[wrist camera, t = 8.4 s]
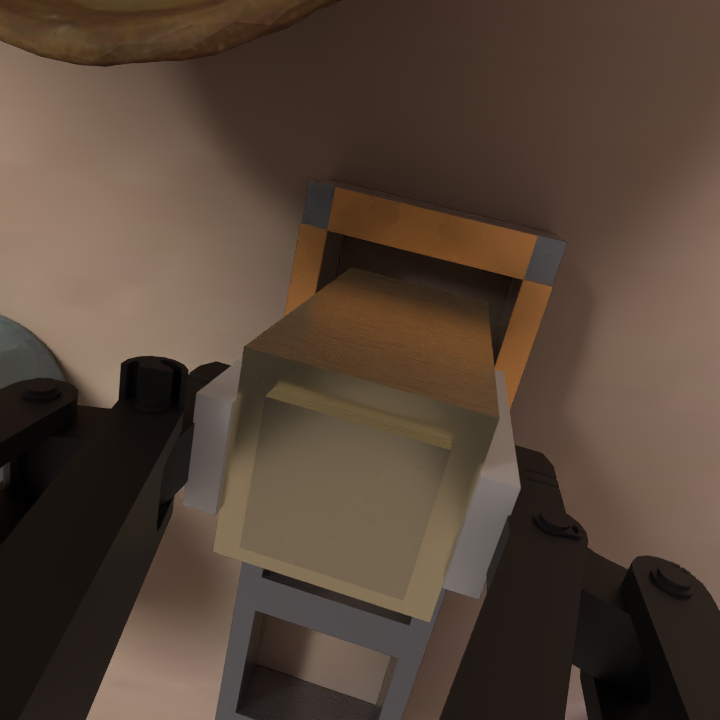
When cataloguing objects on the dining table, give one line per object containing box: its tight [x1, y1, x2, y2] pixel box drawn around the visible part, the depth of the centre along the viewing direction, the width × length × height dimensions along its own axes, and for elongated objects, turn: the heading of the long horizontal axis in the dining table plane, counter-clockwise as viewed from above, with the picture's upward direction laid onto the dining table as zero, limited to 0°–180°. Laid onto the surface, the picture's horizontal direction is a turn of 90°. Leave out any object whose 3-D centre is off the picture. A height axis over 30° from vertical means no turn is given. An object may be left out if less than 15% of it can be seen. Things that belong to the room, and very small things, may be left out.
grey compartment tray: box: [215, 180, 567, 720], centre depth 25 cm, size 28×9×3 cm, turn 167°
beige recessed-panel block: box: [213, 267, 500, 622], centre depth 16 cm, size 5×5×10 cm
